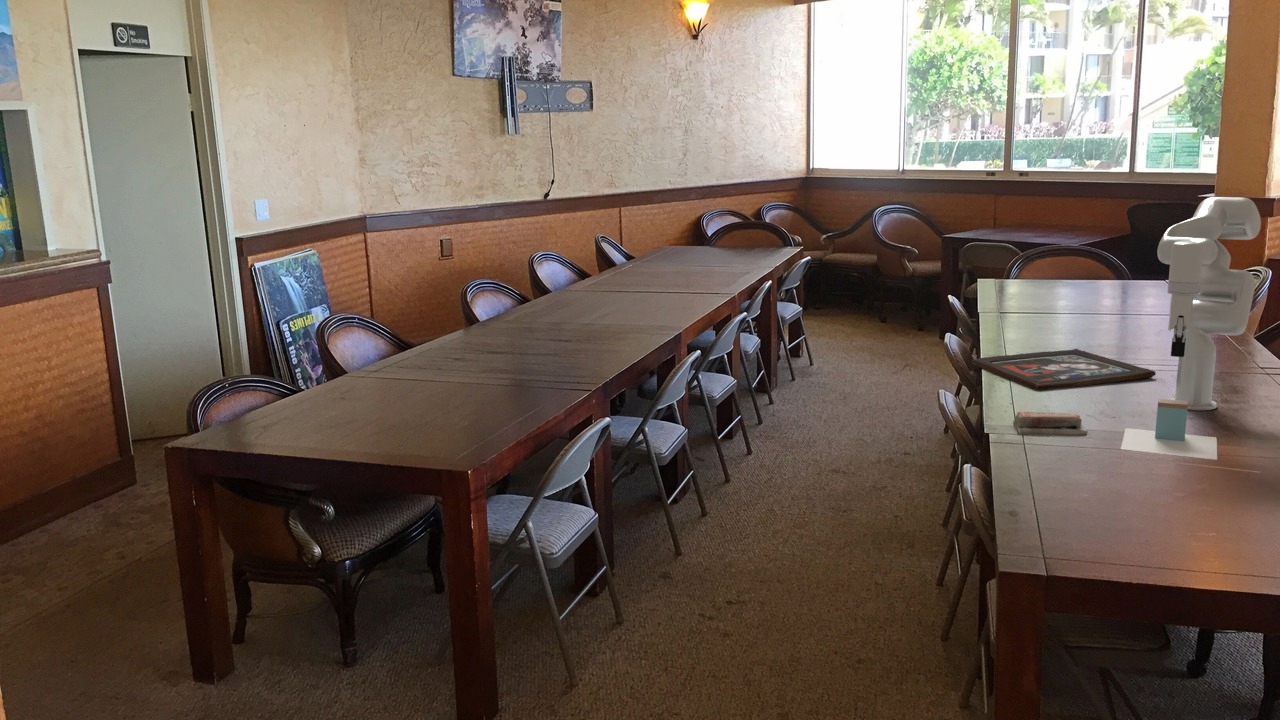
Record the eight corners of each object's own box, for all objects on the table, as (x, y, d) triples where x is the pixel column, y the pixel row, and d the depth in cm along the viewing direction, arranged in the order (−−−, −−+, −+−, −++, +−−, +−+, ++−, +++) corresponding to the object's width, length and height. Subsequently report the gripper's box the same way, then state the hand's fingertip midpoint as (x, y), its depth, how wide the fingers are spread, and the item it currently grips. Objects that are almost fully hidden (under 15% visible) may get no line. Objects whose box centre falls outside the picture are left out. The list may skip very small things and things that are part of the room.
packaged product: (1019, 418, 283) (1013, 408, 292) (1018, 434, 284) (1012, 424, 293) (1089, 419, 280) (1080, 409, 289) (1087, 436, 281) (1079, 425, 290)
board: (1125, 429, 284) (1125, 428, 284) (1216, 438, 274) (1216, 437, 274) (1120, 450, 267) (1120, 449, 267) (1217, 461, 257) (1217, 459, 257)
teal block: (1155, 434, 278) (1158, 398, 276) (1184, 437, 275) (1188, 401, 272) (1154, 438, 275) (1158, 402, 272) (1184, 441, 271) (1187, 405, 269)
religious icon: (1159, 379, 335) (1160, 370, 335) (1038, 393, 325) (1038, 384, 324) (1079, 354, 374) (1079, 346, 373) (968, 366, 363) (969, 358, 362)
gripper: (1168, 282, 283) (1163, 346, 287) (1166, 292, 269) (1160, 359, 273) (1199, 283, 280) (1193, 348, 284) (1199, 293, 265) (1192, 362, 269)
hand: (1177, 353), depth 278 cm, fingers open, 4 cm apart
